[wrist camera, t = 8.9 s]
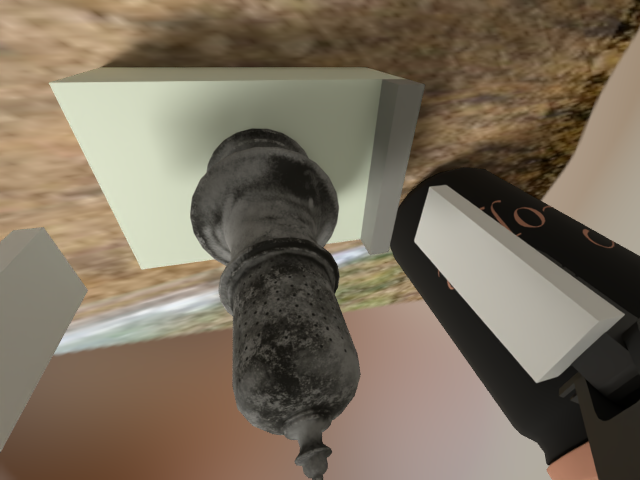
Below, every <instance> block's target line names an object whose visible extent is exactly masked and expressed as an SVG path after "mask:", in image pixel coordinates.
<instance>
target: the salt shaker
mask: <svg viewBox="0 0 640 480" xmlns="http://www.w3.org/2000/svg"><path fill="white" fill-rule="evenodd" d="M338 213H339V204H338V198H337V192H336V190H335V188H334V186H333V184H332V182H331V180H330V178H329V176H328V175H327V174H326V173H325V172H324V171H323V170H322V169H321V168H320V166H319V165H318V164H317V163H316V162H314V161H312V160H311V159H309V158H308V156H307V154H306V152H305V150H304V149H303V148H302V147H301V146H300V145H299V144H298V143H297V142H296V141H295V140H293V139H292V138H290V137H288V136H287V135H285V134H283V133H281V132H278V131H274V130H271V129H255V128H252V129H248V130H244V131H240V132H237V133H235V134H233V135H232V136H230V137H228V138H227V139H225V140H224V141H223V142H222V143H221V144H220V145H219V146H218V147H217V148H216V149H215V150H214V152H213V154H212V156H211V158H210V160H209V163H208V166H207V173H206V174H205V175H204V176H203V177H202V178H201V179H200V181H199V183H198V185H197V187H196V190H195V192H194V194H193V196H192V201H191V210H190V219H191V223H192V228H193V232H194V234H195V236H196V238H197V239H198V241H199V243H200V244H201V246H202V248H203V249H204V250H205V251H206V252H207V253H209V254H210V255H211V256H212V257H213V258H214V259H215V260H217V261H219V262H220V263H222V264H224V265H226V268H225V270H224V271H223V273H222V275H221V278H220V284H219V295H220V300H221V303H222V304H223V306H224V307H225V309H226V311H227V312H228V313H229V314H231V315H232V316H233V390H234V395H235V399H236V403H237V408H238V410H239V411H240V412H241V413H242V414H243V416H244V417H245V418H246V419H247V420H248V421H249V422H250V423H251V424H252V425H253V426H255V427H257V428H260V429H262V430H264V431H267V432H269V433H272V434H277V435H285V437H286V438H288V439H290V440H298V442H299V445H300V453H299V455H298V456H297V458H296V460H295V464H296V465H299V466H302V467H303V471H304V474H305V475H306V476H307V477H308V478H312V480H323V474H324V473H325V472H326V470H327V468H328V463H327V457H329V456H330V455H331V453H332V450H331V449H330V448H329V447H327V446H326V445H324V444H323V442H322V432H324V431H325V430H326V429H327V428H328V427H329V426H330V425H331V421H332V420H334V419H335V418H336V417H338V416H339V415H340V414H341V413H342V412H343V410H344V409H345V408H346V407H347V405H348V404H349V402H350V401H351V400H352V398H353V397H354V396H355V393H356V389H357V386H358V382H359V379H360V375H361V374H360V367H359V361H358V355H357V352H356V349H355V347H354V344H353V341H352V339H351V336H350V333H349V331H348V328H347V326H346V323H345V320H344V318H343V315H342V312H341V310H340V307H339V304H338V302H337V299H336V296H335V292H336V290H337V288H338V283H339V277H340V276H339V271H338V265H337V263H336V262H335V260H334V258H333V257H332V255H331V254H330V253H329V252H328V251H327V250H326V249H324V248H323V247H324V246H325V245H326V243H327V242H328V241H329V239H330V238H331V236H332V234H333V232H334V229H335V227H336V225H337V220H338Z"/></svg>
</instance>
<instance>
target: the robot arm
mask: <svg viewBox="0 0 640 480" xmlns="http://www.w3.org/2000/svg"><path fill="white" fill-rule="evenodd" d="M414 242H415V243H416V244H417V245H418V246H419V248H420V249H421V250H422V251H423V252H424V253H425V255H426V256H427V257H428V258H429V259H430V260H431V261H432V263H433V264H434V265H435V266H436V267H437V268H438V270H439V271H440V272H441V273H442V274H443V275H444V277H445V278H446V279H447V280H448V281H449V282H450V283H451V285H452V286H453V287H454V288H455V289H456V290H457V292H458V293H459V294H460V295H461V296H462V297H463V299H464V300H465V301H466V302H467V303H468V304H469V305H470V307H471V308H472V309H473V310H474V311H475V312H476V314H477V315H478V316H479V317H480V318H481V319H482V321H483V322H484V323H485V324H486V325H487V326H488V327H489V329H490V330H491V331H492V332H493V333H494V334H495V336H496V337H497V338H498V339H499V340H500V341H501V343H502V344H503V345H504V346H505V347H506V348H507V349H508V351H509V352H510V353H511V354H512V355H513V356H514V358H515V359H516V360H517V361H518V362H519V363H520V365H521V366H522V367H523V368H524V369H525V370H526V371H527V373H528V374H529V375H530V376H531V377H532V378H533V380H534V381H535V382H536V383H538V382H542V381H545V380H548V379H551V378H555V377H558V376H559V375H560V374H561V373H562V372H564V371H565V370H566V369H567V368H568V367H569V366H570V365H572V366H573V367H574V368H575V369H576V370H577V371H578V373H576V374H575V375H574V376H573V377H572V378H571V379H570V380H568V381H567V382H566V383H565V384H564V385H563V386H562V387H561V388H560V389H559V396H560V397H563V398H564V397H565V396H566V395H567V394H569V393H570V392H571V391H572V390H573V389H576V393H575V394H573V395H572V397H571V398H570V401H573V402H576V403H578V404H579V405H580V409H581V413H582V417H583V421H584V425H585V429H586V432H587V436H588V440H589V444H590V448H591V452H592V456H593V460H594V464H595V468H596V472H597V476H598V480H640V318H637V317H635V316H634V315H632V314H631V313H629V312H628V311H626V310H625V309H623V308H622V307H621V306H619V305H618V304H616V303H615V302H614V301H612V300H611V299H609V298H608V297H607V296H605V295H604V294H602V293H601V292H600V291H598V290H597V289H595V288H594V287H593V286H591V285H590V284H588V283H587V282H586V281H584V280H583V279H581V278H580V277H576V276H575V274H574V273H573V272H571V271H570V270H569V269H567V268H566V267H562V264H560V263H559V262H557V261H556V260H555V259H553V258H552V257H550V256H549V255H548V254H546V253H544V252H542V251H540V250H538V249H536V248H533V247H531V246H530V245H528V244H527V243H526V242H524V241H523V240H522V239H520V238H519V237H517V236H516V235H515V234H513V233H512V232H510V231H509V230H508V229H506V228H505V227H504V226H502V225H501V224H499V223H498V222H497V221H495V220H494V219H493V218H491V217H490V216H488V215H487V214H486V213H484V212H483V211H482V210H480V209H479V208H477V207H476V206H475V205H473V204H472V203H471V202H469V201H468V200H466V199H465V198H464V197H462V196H461V195H459V194H458V193H457V192H455V191H454V190H453V189H451V188H450V187H448V186H447V185H441V186H431V187H429V191H428V194H427V198H426V201H425V205H424V208H423V212H422V215H421V219H420V222H419V226H418V229H417V233H416V236H415V240H414ZM87 291H88V290H87V288H86V287H85V286H84V284H83V283H82V281H81V280H80V278H79V277H78V276H77V274H76V273H75V271H74V270H73V268H72V267H71V266H70V264H69V263H68V261H67V260H66V258H65V257H64V256H63V254H62V253H61V251H60V250H59V249H58V247H57V246H56V244H55V243H54V241H53V240H52V239H51V237H50V236H49V234H48V233H47V231H46V230H45V229H44V227H41V228H32V229H22V230H13V231H12V232H11V233H10V234H9V235H8V236H6V237H5V238H4V239H3V240H2V241H1V242H0V452H1V450H2V448H3V446H4V445H5V443H6V441H7V439H8V437H9V435H10V434H11V432H12V430H13V428H14V426H15V424H16V422H17V421H18V419H19V417H20V415H21V413H22V411H23V409H24V408H25V406H26V404H27V402H28V400H29V398H30V396H31V394H32V393H33V391H34V389H35V387H36V385H37V383H38V382H39V380H40V378H41V376H42V374H43V372H44V370H45V369H46V367H47V365H48V363H49V361H50V360H51V358H52V356H53V354H54V352H55V350H56V348H57V347H58V345H59V343H60V341H61V339H62V337H63V335H64V334H65V332H66V330H67V328H68V326H69V324H70V323H71V321H72V319H73V317H74V315H75V313H76V311H77V310H78V308H79V306H80V304H81V302H82V300H83V298H84V297H85V295H86V293H87Z"/></svg>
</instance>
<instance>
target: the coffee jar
mask: <svg viewBox="0 0 640 480" xmlns="http://www.w3.org/2000/svg"><path fill="white" fill-rule="evenodd" d="M441 185H447V186H448V187H450V188H451V189H453V190H454V191H455V192H457V193H458V194H459V195H461V196H462V197H464V198H465V199H466V200H468V201H469V202H471V203H472V204H473V205H475V206H476V207H477V208H479V209H480V210H482V211H483V212H484V213H486V214H487V215H488V216H490V217H491V218H493V219H494V220H495V221H497V222H498V223H499V224H501V225H502V226H504V227H505V228H506V229H508V230H509V231H510V232H512V233H513V234H515V235H516V236H517V237H519V238H520V239H522V240H523V241H524V242H526V243H527V244H528V245H530V246H531V247H533V248H536V249H538V250H540V251H542V252H544V253H546V254H548V255H549V256H550V257H552V258H553V259H555V260H556V261H557V262H559V263H560V264H562V267H566V268H567V269H569V270H570V271H571V272H573V273H574V274H575V276H576V277H580V278H581V279H583V280H584V281H586V282H587V283H588V284H590V285H591V286H593V287H594V288H595V289H597V290H598V291H600V292H601V293H602V294H604V295H605V296H607V297H608V298H609V299H611V300H612V301H614V302H615V303H616V304H618V305H619V306H621V307H622V308H623V309H625V310H626V311H628V312H629V313H631V314H632V315H634V316H635V317H637V318H640V256H639V255H637V254H635V253H633V252H631V251H629V250H628V249H626V248H624V247H622V246H620V245H619V244H617V243H615V242H613V241H612V240H609V239H608V238H606V237H605V236H603V235H601V234H599V233H597V232H596V231H594V230H592V229H590V228H588V227H587V226H585V225H583V224H581V223H580V222H578V221H576V220H574V219H572V218H571V217H569V216H567V215H565V214H563V213H562V212H560V211H558V210H556V209H554V208H553V207H551V206H549V205H547V204H546V203H544V202H542V201H540V200H538V199H537V198H535V197H533V196H531V195H529V194H528V193H526V192H524V191H522V190H521V189H519V188H517V187H515V186H513V185H512V184H510V183H508V182H506V181H504V180H503V179H501V178H499V177H497V176H496V175H494V174H492V173H490V172H488V171H487V170H485V169H477V168H468V167H463V168H459V169H454V170H450V171H446V172H442V173H438V174H436V175H434V176H433V177H431V178H429V179H427V180H425V181H423V182H422V183H421V184H419V185H418V186H417V187H416V188H415V189H414V190H412V191H411V192H410V193H409V194H408V195H407V196H406V198H405V199H404V201H403V202H402V203H401V205H400V206H399V207H398V210H397V214H396V219H395V224H394V228H393V233H392V237H391V242H390V247H391V250H392V252H393V255H394V258H395V260H396V261H397V262H398V264H399V265H400V267H401V268H402V269H403V271H404V272H405V274H406V275H407V277H408V278H409V279H410V281H411V282H412V284H413V285H414V286H415V288H416V289H417V291H418V292H419V293H420V295H421V296H422V298H423V299H424V301H425V302H426V303H427V305H428V306H429V307H430V309H431V310H432V312H433V313H434V315H435V316H436V318H437V319H438V320H439V322H440V323H441V325H442V326H443V327H444V329H445V330H446V332H447V333H448V335H449V336H450V337H451V339H452V340H453V341H454V343H455V344H456V346H457V347H458V349H459V350H460V352H461V353H462V354H463V356H464V357H465V359H466V360H467V361H468V363H469V364H470V366H471V367H472V369H473V370H474V371H475V373H476V374H477V376H478V377H479V378H480V380H481V381H482V383H483V384H484V385H485V387H486V388H487V390H488V391H489V393H490V394H491V395H492V397H493V398H494V400H495V401H496V403H497V404H498V405H499V407H500V408H501V410H502V411H503V412H504V414H505V415H506V417H507V418H508V420H509V421H510V422H511V424H512V425H513V427H514V428H515V429H516V430H517V431H518V432H519V433H520V434H521V435H523V436H525V437H527V438H529V439H531V440H533V441H535V442H537V443H538V444H539V446H540V447H541V448H542V450H543V451H544V453H545V458H546V463H547V465H550V466H549V467H548V468H547V472H548V474H549V475H550V477H551V478H552V480H598V476H597V472H596V468H595V464H594V460H593V456H592V452H591V448H590V444H589V440H588V436H587V432H586V429H585V425H584V421H583V417H582V413H581V409H580V405H579V404H578V403H576V402H573V401H570V398H571V397H572V395H573V394H575V393H576V389H573V390H572V391H571V392H570V393H569V394H567V395H566V396H565V397H564V398H563V397H560V396H559V389H560V388H561V387H562V386H563V385H564V384H565V383H566V382H567V381H568V380H570V379H571V378H572V377H573V376H574V375H575V374H576V373H578V371H577V370H576V369H575V368H574V367H573V366H572V365H570V366H569V367H568V368H567V369H566V370H565V371H564V372H562V373H561V374H560V375H559V376H558V377H555V378H551V379H548V380H545V381H542V382H538V383H536V382H535V381H534V380H533V378H532V377H531V376H530V375H529V374H528V373H527V371H526V370H525V369H524V368H523V367H522V366H521V365H520V363H519V362H518V361H517V360H516V359H515V358H514V356H513V355H512V354H511V353H510V352H509V351H508V349H507V348H506V347H505V346H504V345H503V344H502V343H501V341H500V340H499V339H498V338H497V337H496V336H495V334H494V333H493V332H492V331H491V330H490V329H489V327H488V326H487V325H486V324H485V323H484V322H483V321H482V319H481V318H480V317H479V316H478V315H477V314H476V312H475V311H474V310H473V309H472V308H471V307H470V305H469V304H468V303H467V302H466V301H465V300H464V299H463V297H462V296H461V295H460V294H459V293H458V292H457V290H456V289H455V288H454V287H453V286H452V285H451V283H450V282H449V281H448V280H447V279H446V278H445V277H444V275H443V274H442V273H441V272H440V271H439V270H438V268H437V267H436V266H435V265H434V264H433V263H432V261H431V260H430V259H429V258H428V257H427V256H426V255H425V253H424V252H423V251H422V250H421V249H420V248H419V246H418V245H417V244H416V243H415V242H414V240H415V236H416V233H417V229H418V226H419V222H420V219H421V215H422V212H423V208H424V205H425V201H426V198H427V194H428V191H429V187H431V186H441Z"/></svg>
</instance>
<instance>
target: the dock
mask: <svg viewBox="0 0 640 480" xmlns="http://www.w3.org/2000/svg"><path fill="white" fill-rule="evenodd" d="M49 84H50V86H51V88H52V90H53V92H54V94H55V96H56V98H57V100H58V102H59V104H60V106H61V108H62V110H63V112H64V114H65V116H66V118H67V120H68V122H69V124H70V126H71V128H72V130H73V132H74V134H75V137H76V139H77V141H78V143H79V145H80V147H81V149H82V151H83V153H84V155H85V157H86V159H87V161H88V163H89V165H90V167H91V169H92V171H93V173H94V175H95V177H96V179H97V181H98V183H99V185H100V187H101V189H102V191H103V193H104V195H105V197H106V199H107V201H108V203H109V205H110V207H111V209H112V211H113V213H114V215H115V217H116V219H117V221H118V223H119V225H120V227H121V229H122V231H123V233H124V235H125V237H126V239H127V241H128V243H129V245H130V247H131V249H132V251H133V253H134V255H135V257H136V259H137V261H138V263H139V265H140V267H141V269H148V268H155V267H163V266H170V265H177V264H184V263H192V262H199V261H206V260H213V259H214V258H213V257H212V256H211V255H210V254H209V253H207V252H206V251H205V250H204V249H203V248H202V246H201V244H200V243H199V241H198V239H197V238H196V236H195V234H194V232H193V228H192V223H191V219H190V210H191V201H192V196H193V194H194V192H195V190H196V187H197V185H198V183H199V181H200V179H201V178H202V177H203V176H204V175H205V174H206V173H207V166H208V163H209V160H210V158H211V156H212V154H213V152H214V150H215V149H216V148H217V147H218V146H219V145H220V144H221V143H222V142H223V141H224V140H225V139H227V138H228V137H230V136H232V135H233V134H235V133H237V132H240V131H244V130H248V129H252V128H255V129H271V130H274V131H278V132H281V133H283V134H285V135H287V136H288V137H290V138H292V139H293V140H295V141H296V142H297V143H298V144H299V145H300V146H301V147H302V148H303V149H304V150H305V152H306V154H307V156H308V158H309V159H311V160H312V161H314V162H316V163H317V164H318V165H319V166H320V168H321V169H322V170H323V171H324V172H325V173H326V174H327V175H328V176H329V178H330V180H331V182H332V184H333V186H334V188H335V190H336V192H337V198H338V204H339V213H338V220H337V225H336V227H335V229H334V232H333V234H332V236H331V238H330V239H329V241H328V242H327V243H326V244H329V243H337V242H344V241H351V240H358V239H361V241H362V243H363V244H364V246H365V248H366V249H367V251H368V253H369V254H370V255H372V254H379V253H385V252H388V251H389V246H390V242H391V237H392V233H393V228H394V224H395V219H396V214H397V210H398V205H399V201H400V196H401V192H402V187H403V183H404V178H405V174H406V169H407V165H408V160H409V155H410V151H411V146H412V142H413V137H414V133H415V128H416V124H417V119H418V115H419V110H420V106H421V101H422V96H423V92H424V87H425V84H422V83H419V82H415V81H412V80H408V79H405V78H401V77H398V76H394V75H391V74H387V73H384V72H381V71H377V70H374V69H370V68H367V67H100V68H97V69H94V70H90V71H87V72H83V73H80V74H77V75H73V76H70V77H66V78H63V79H60V80H56V81H53V82H49Z"/></svg>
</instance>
